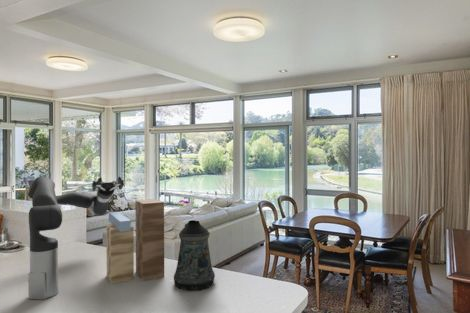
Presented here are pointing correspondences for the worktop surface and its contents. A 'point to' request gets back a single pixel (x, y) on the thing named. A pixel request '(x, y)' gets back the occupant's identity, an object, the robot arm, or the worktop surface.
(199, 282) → the beer stein
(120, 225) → the bar
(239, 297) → the worktop surface
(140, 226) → the walnut stand
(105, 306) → the worktop surface
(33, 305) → the worktop surface
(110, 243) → the oak tower
